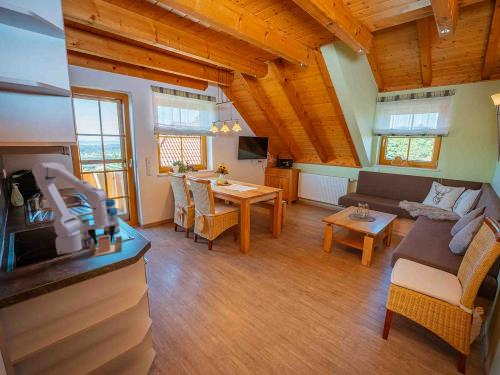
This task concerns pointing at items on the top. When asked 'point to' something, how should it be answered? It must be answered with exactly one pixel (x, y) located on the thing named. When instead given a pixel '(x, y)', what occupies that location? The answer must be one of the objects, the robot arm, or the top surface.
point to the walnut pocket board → (117, 249)
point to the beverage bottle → (111, 216)
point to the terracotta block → (104, 243)
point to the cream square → (105, 252)
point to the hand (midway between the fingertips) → (104, 242)
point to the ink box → (82, 234)
